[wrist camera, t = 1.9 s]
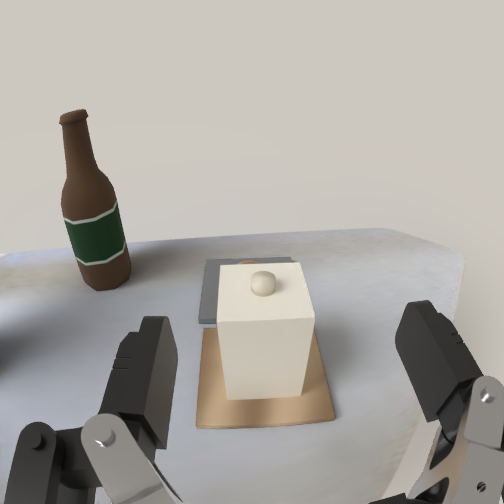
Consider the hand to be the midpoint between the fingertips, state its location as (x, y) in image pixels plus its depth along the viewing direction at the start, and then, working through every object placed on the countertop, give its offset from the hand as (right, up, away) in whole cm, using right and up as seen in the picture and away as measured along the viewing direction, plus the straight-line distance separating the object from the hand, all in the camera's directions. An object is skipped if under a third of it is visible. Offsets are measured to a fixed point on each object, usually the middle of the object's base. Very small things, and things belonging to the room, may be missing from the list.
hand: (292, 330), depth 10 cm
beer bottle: (-22, -1, +33) cm, 40 cm away
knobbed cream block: (0, -9, +19) cm, 21 cm away
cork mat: (0, -9, +19) cm, 21 cm away
